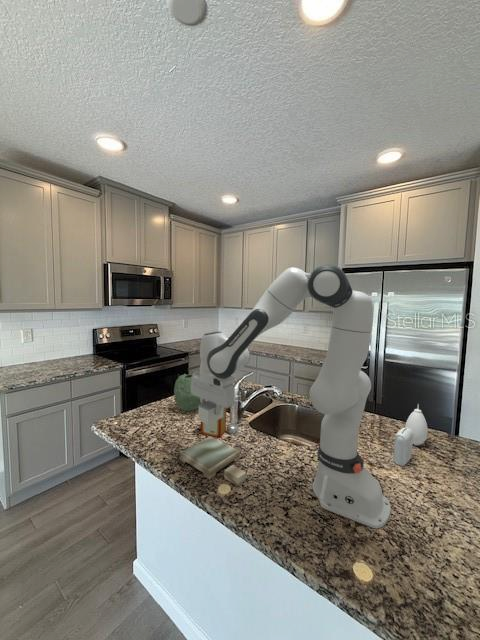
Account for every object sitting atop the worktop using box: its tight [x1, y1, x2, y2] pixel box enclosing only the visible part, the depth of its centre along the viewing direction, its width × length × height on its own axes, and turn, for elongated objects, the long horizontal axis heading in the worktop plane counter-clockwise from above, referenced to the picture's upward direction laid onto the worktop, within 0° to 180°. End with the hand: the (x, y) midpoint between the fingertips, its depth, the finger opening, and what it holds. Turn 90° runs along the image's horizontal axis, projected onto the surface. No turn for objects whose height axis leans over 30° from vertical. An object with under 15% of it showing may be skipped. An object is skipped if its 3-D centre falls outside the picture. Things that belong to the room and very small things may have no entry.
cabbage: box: [173, 373, 201, 412], centre depth 144 cm, size 16×19×20 cm
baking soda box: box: [200, 400, 227, 439], centre depth 121 cm, size 10×6×16 cm
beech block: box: [224, 464, 247, 487], centre depth 91 cm, size 6×4×3 cm, turn 50°
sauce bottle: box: [404, 403, 428, 446], centre depth 116 cm, size 8×8×18 cm
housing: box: [197, 401, 224, 424], centre depth 100 cm, size 8×5×6 cm, turn 140°
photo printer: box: [392, 426, 413, 467], centre depth 104 cm, size 10×4×12 cm, turn 132°
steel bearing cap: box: [226, 422, 239, 436], centre depth 123 cm, size 5×5×3 cm
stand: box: [179, 436, 241, 480], centre depth 102 cm, size 16×16×3 cm
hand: (211, 412), depth 100 cm, fingers closed on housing, 5 cm apart
